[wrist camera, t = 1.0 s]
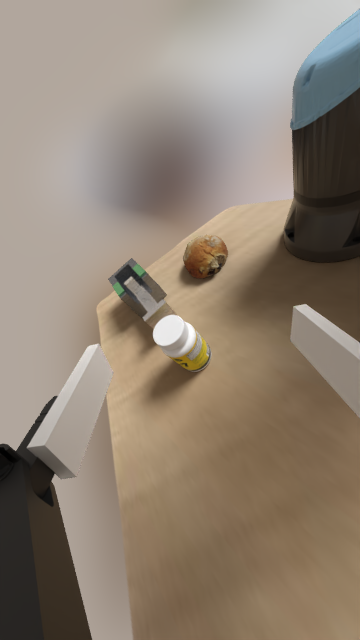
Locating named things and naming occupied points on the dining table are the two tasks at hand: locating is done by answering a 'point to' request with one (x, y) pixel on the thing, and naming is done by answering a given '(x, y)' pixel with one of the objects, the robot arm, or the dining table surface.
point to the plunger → (149, 303)
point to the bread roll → (205, 256)
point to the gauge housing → (142, 279)
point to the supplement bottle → (182, 343)
